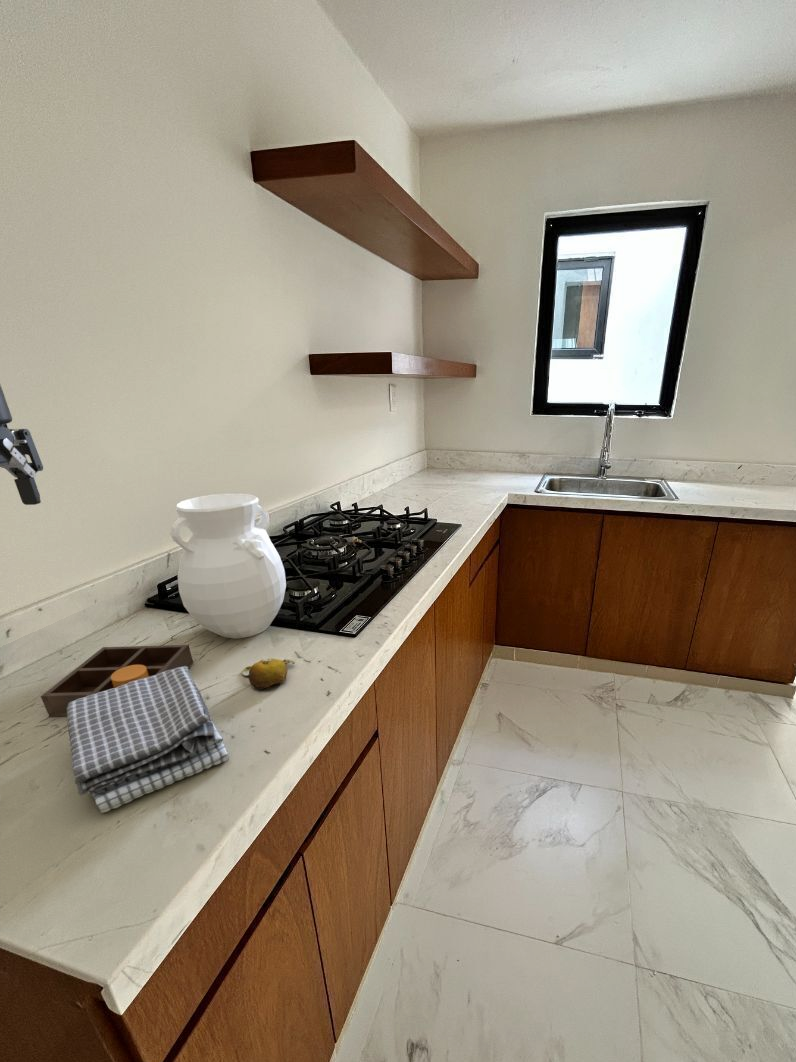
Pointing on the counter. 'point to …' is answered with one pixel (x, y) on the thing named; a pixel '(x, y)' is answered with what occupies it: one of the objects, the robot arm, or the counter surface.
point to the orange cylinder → (128, 674)
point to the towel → (141, 737)
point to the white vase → (228, 565)
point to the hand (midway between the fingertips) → (9, 511)
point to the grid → (111, 672)
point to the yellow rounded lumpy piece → (267, 672)
